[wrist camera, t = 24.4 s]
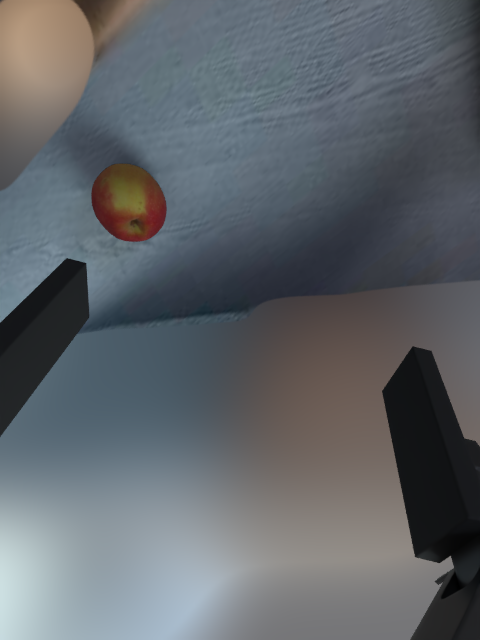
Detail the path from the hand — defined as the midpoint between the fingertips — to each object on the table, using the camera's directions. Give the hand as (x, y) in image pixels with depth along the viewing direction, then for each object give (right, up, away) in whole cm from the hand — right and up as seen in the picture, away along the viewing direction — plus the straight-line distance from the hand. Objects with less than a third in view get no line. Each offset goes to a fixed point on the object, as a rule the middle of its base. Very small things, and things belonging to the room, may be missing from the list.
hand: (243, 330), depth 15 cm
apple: (-12, +16, +29) cm, 35 cm away
